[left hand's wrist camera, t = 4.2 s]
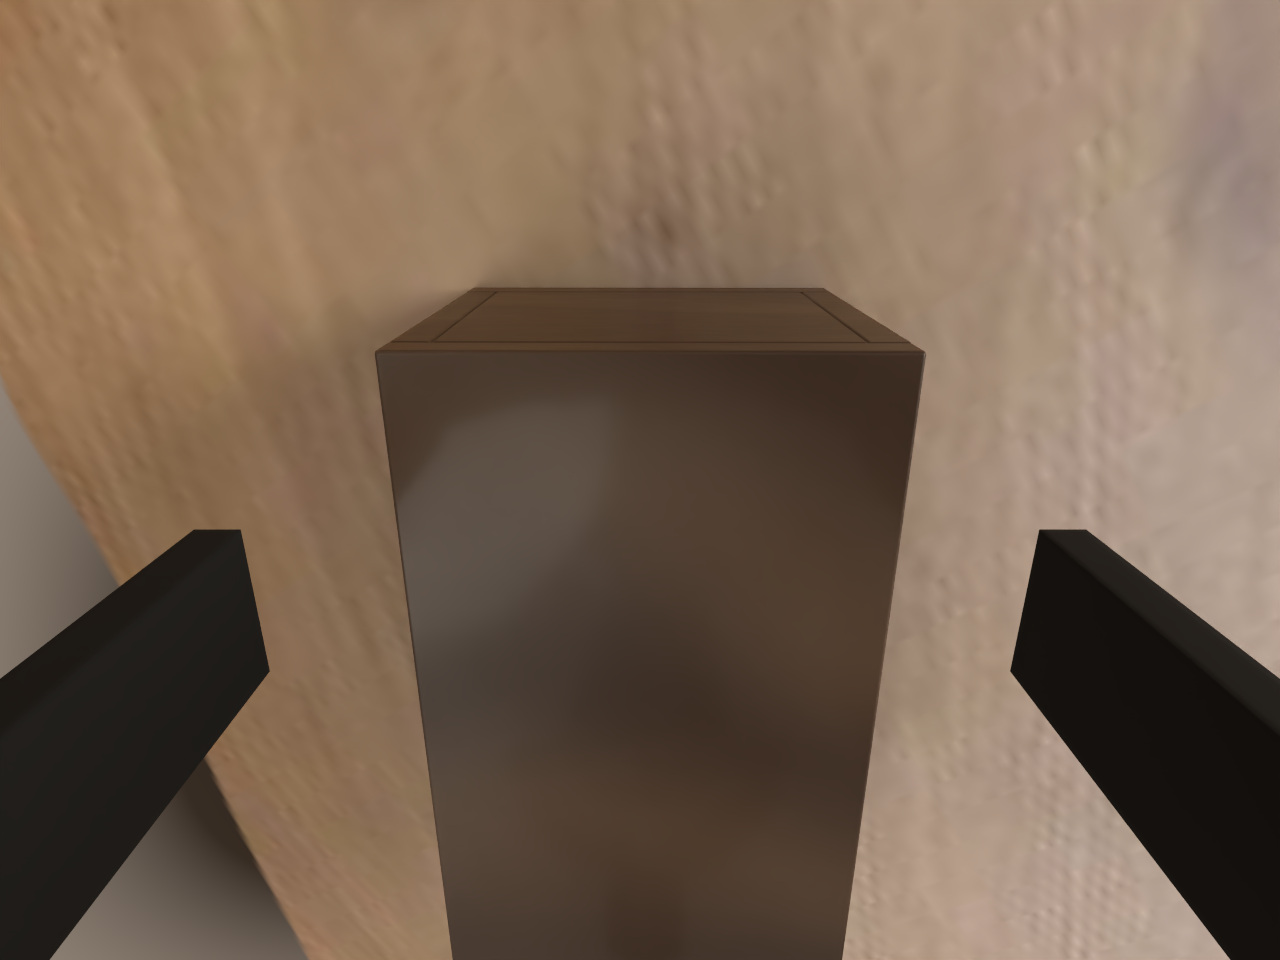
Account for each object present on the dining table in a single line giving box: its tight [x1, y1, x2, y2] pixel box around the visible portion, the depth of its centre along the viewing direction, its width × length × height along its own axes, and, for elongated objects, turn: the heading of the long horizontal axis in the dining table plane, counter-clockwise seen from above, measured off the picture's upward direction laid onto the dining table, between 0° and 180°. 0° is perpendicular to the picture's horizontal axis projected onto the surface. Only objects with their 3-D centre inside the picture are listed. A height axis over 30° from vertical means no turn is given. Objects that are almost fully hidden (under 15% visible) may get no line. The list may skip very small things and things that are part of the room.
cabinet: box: [375, 288, 926, 960], centre depth 21 cm, size 17×10×9 cm, turn 0°
